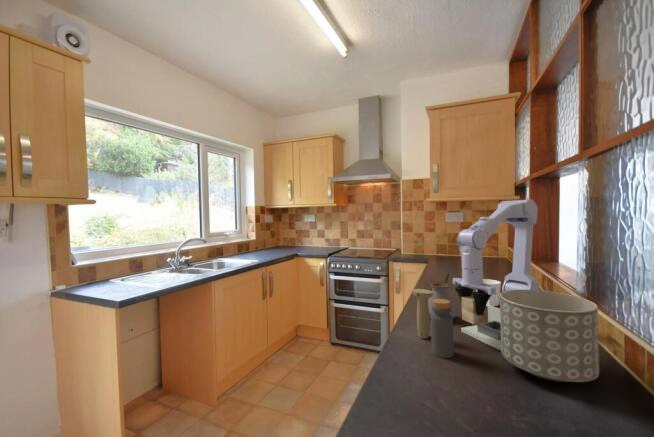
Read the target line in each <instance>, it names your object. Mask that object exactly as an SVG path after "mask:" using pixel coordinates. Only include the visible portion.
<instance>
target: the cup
mask: <svg viewBox="0 0 654 437" xmlns="http://www.w3.org/2000/svg"><path fill="white" fill-rule="evenodd" d="M483 283H485V284H487V285H490V286H492V287H496V294H493V295H491V297H490V298H489V300H488V302H487V304H486V307H488V306H493V307H495V306H497V307H498V306H500V294H501V289H502V287H501V286H502V282H501V281H499V280H495V279H489V278H483ZM475 292H478V290H475Z"/></svg>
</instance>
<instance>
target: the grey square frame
mask: <svg viewBox="0 0 654 437" xmlns="http://www.w3.org/2000/svg"><path fill="white" fill-rule="evenodd" d="M476 325H477V328H478V332H480V333H482V334H485V335H487V336H489V337H491V338H494V339H496V340H498V341H499V340H501V323H500V322H498V321H495V320H494V321H489V322H488V321H485V322H483V323H478V324H476ZM494 329H496V330H494ZM497 330H499V331H497Z"/></svg>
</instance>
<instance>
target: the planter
mask: <svg viewBox="0 0 654 437" xmlns="http://www.w3.org/2000/svg"><path fill="white" fill-rule="evenodd" d="M598 308H599V307H598V304H596V303H595V302H593V301H591V300H589V299H586V298H583V297H579V296H576V295H572V294H568V293H562V292H557V291H550V290H541V289H540V290H508V291H504V292H500V303H499V309H500V320H501V350H500V351H501V355H502V356H503V358H504V359H505V360H506V361H507V362H508V363H510V364H512V365H513V366H515V367H517V368H518V369H521V370H523V371H525V372H527V373H528V374H530V375H532V376H535V377H537V378H539V379H542V380H546V381H550V382H555V383H556V382H557V383H586V382H592V381H595V380H596V379H598V378H599V376H600V352H599V342H600V341H599V309H598Z"/></svg>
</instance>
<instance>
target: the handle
mask: <svg viewBox="0 0 654 437" xmlns="http://www.w3.org/2000/svg"><path fill="white" fill-rule="evenodd" d="M411 294H412V295H413V296H415V297H416V300H417V301H416V303H417V304H416V328H417V335H418V337H419V338H420V339H425V340H427V339H429V337H430V329H431V319H430V317H429V307H428V299H429V298H430V297H432V296H433V292H432V290H428V289H424V288H423V289H422V288H414V289H412V292H411Z"/></svg>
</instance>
